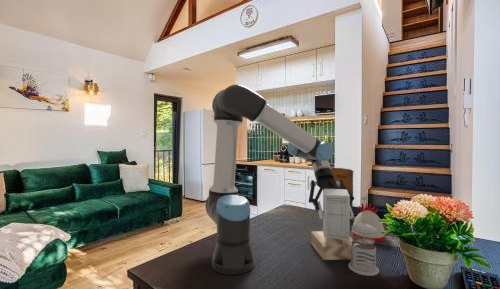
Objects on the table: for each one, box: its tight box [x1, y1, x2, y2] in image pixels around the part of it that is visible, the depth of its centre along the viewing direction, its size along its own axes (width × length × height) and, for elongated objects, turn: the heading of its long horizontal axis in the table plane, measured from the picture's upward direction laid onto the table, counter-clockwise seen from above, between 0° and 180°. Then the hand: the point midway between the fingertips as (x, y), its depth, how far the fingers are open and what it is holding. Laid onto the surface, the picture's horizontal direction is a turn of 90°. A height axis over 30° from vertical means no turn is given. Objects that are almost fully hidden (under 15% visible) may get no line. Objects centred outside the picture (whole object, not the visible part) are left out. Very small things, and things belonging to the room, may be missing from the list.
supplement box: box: [322, 189, 351, 240], centre depth 98 cm, size 10×9×17 cm
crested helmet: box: [351, 202, 386, 243], centre depth 116 cm, size 14×14×15 cm
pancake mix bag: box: [330, 166, 354, 221], centre depth 144 cm, size 7×19×28 cm, turn 17°
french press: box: [343, 195, 380, 277], centre depth 87 cm, size 10×12×25 cm
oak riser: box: [310, 230, 361, 261], centre depth 100 cm, size 14×15×5 cm
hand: (336, 217), depth 97 cm, fingers closed on supplement box, 11 cm apart
